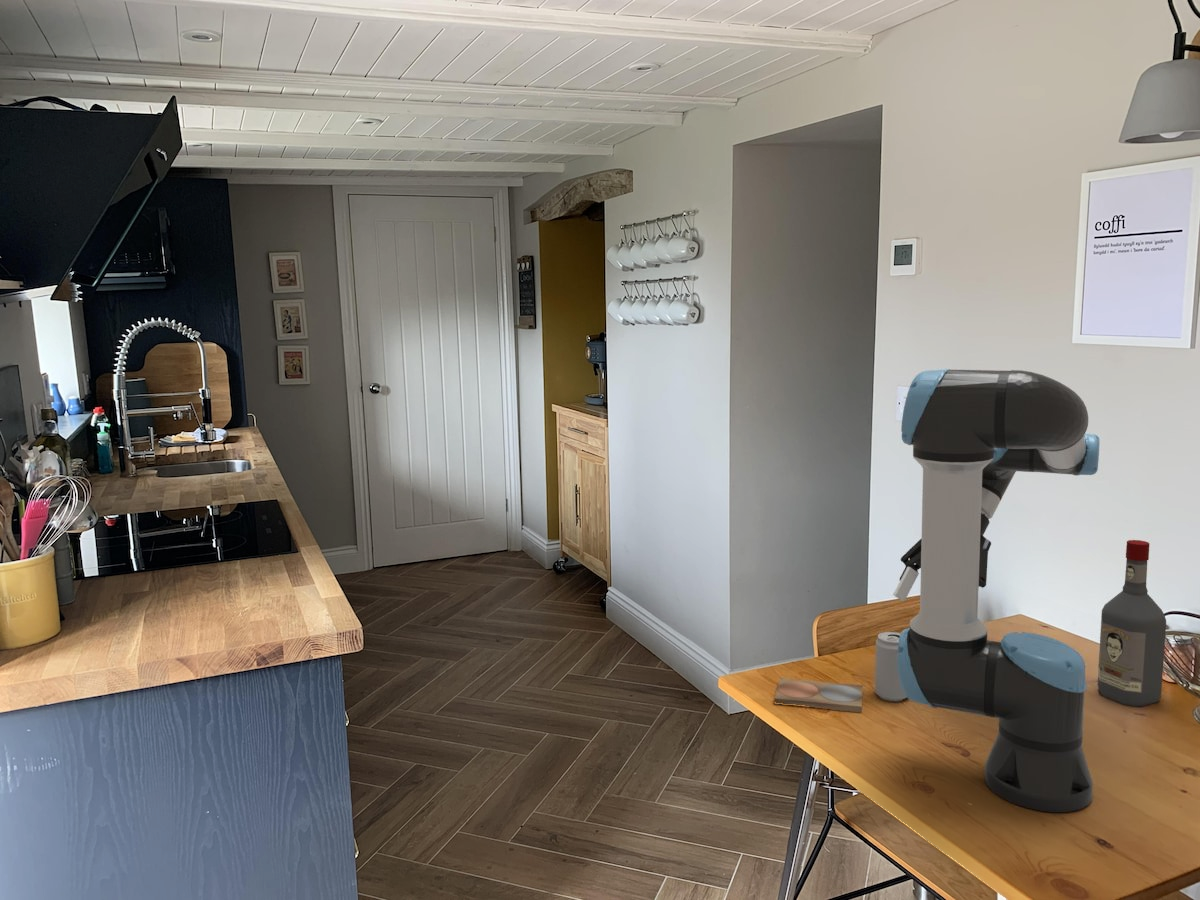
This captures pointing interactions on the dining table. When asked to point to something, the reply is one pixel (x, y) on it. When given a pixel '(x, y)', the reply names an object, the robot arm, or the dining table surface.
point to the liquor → (1132, 637)
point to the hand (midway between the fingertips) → (922, 606)
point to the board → (820, 694)
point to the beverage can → (887, 667)
